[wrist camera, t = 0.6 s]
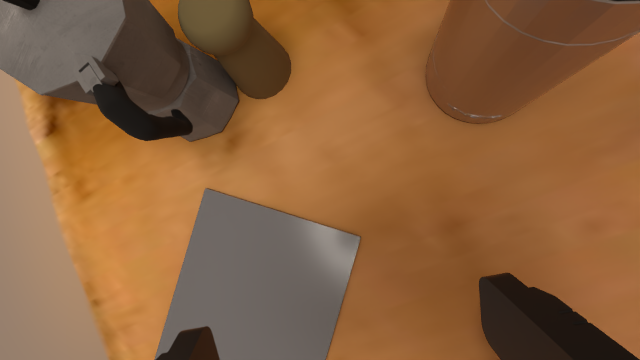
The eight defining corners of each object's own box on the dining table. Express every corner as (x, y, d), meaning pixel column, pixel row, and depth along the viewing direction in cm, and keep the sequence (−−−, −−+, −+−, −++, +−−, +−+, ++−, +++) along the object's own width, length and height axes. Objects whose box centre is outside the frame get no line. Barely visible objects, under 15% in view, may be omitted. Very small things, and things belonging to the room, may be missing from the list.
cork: (301, 53, 31) (262, -25, 20) (273, 108, 31) (220, 59, 21) (250, 31, 32) (187, -54, 22) (224, 84, 32) (148, 26, 22)
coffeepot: (133, 80, 34) (-124, -49, 17) (198, 23, 33) (-1, -177, 16) (210, 193, 32) (4, 182, 14) (282, 134, 31) (158, 45, 13)
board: (207, 188, 32) (205, 188, 32) (360, 236, 29) (360, 237, 29) (156, 361, 32) (153, 363, 31) (305, 428, 29) (304, 431, 28)
